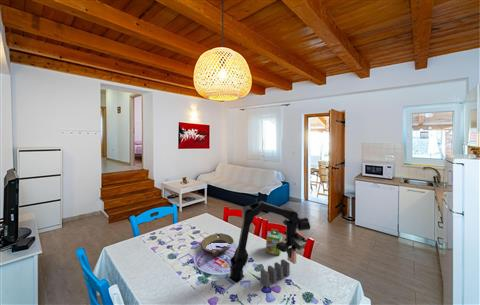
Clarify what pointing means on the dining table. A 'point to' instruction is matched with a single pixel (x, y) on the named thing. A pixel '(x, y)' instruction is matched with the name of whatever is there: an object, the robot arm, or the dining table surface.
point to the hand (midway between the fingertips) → (291, 257)
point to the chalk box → (273, 242)
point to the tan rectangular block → (292, 257)
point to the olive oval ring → (214, 239)
